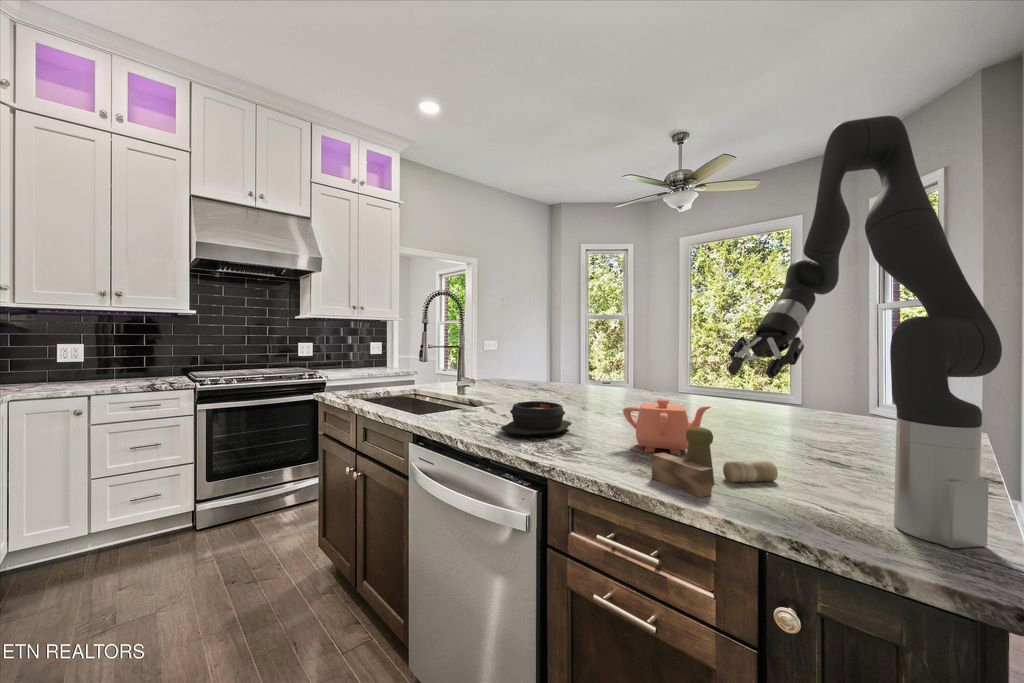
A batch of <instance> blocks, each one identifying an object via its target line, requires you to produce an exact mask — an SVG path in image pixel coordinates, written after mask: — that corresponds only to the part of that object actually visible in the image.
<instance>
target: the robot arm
mask: <svg viewBox="0 0 1024 683" xmlns="http://www.w3.org/2000/svg"><path fill="white" fill-rule="evenodd" d="M908 134H909V133H908V131H907V129H906V126H905V124H904V122H903V121H902V120H901V119H900V118H899V117H897V116H894V115H880V116H873V117H865V118H857V119H851V120H846V121H843V122H841V123H839V124H837V125H836V126H835V127H834V128H833V129H832V131H831V132H830V134H829V137H828V139H827V141H826V145H825V149H824V154H823V159H822V164H821V171H820V176H819V182H818V188H817V196H816V203H815V209H814V215H813V219H812V222H811V225H810V228H809V231H808V234H807V237H806V239H805V243H804V246H803V250H802V251H803V254H804V256H805V257H806V258H807V259H804V258H803V259H797V260H795V261H793V262H792V263H791V264H790V265H789V266H788V268H787V271H786V275H785V281H784V287H783V290H782V292H781V293H780V295H779V296H778V298H777V300H776V301H775V302H774V304H773V305H772V306H771V307H770V308H769V310H768V311H767V313H766V314H765V316H764V317H763V319H762V320H761V322H760V323H759V325H758V326H757V328H756V333H755V335H754V336H753V337H752V338H751V339H746V338H745V337H744V336H741V337H739V338H738V340H737V341H736V342H735V343H734V345H733V346H732V347H731V348H730V349H729V352H728V353H727V354H728V355H729V357H730V359H731V362H730V364H729V365H728V366H727V367H728V368H727V369H728V371H729V373H730V374H731V375H732V376H736V375H737V374H738V373H739V371H740V370H741V368H742V366H743V364H745V363H746V362H748V361H754V360H755V359H757V358H764V357H765V358H769V359H770V358H772V357H774V358H775V359H774V358H773V359H772V360H771V362H770V364H769V365H768V367H767V369H765V374H766V376H767V377H768V378H769V379H775V377H777V376H778V375H779V373H780V371H781V370H782V368H783V367H785V366H786V365H791V366H794V365H796V364H797V362H798V360H799V359H800V356H801V354H802V352H803V350H804V348H805V345H804V342H803V341H802V340H801V338H800V337H799V336H797V335H798V333H799V332H800V330H801V328H802V327H803V325H804V324H805V320H806V319H807V316H808V314H809V313H810V311H811V309H812V308H813V306H814V305H815V303H816V295H820V296H821V295H822V296H823V295H827V294H829V293H830V292H832V291H833V290H834V289H835V288H836V286H837V285H838V281H839V277H840V270H839V269H840V268H839V267H840V264H839V263H840V253H841V250H842V248H843V247H844V243H845V241H846V238H847V236H848V234H849V229H850V226H851V217H850V213H849V210H848V208H847V205H846V203H845V202H844V198H843V195H842V182H843V179H844V176H845V174H846V173H847V172H857V171H865V170H866V171H867V170H875V171H876V173H877V174H878V176H879V179H880V183H881V188H880V191H879V193H878V195H877V197H876V198H875V201H874V203H873V204H872V206H871V207H870V210H869V211H868V214H867V216H866V218H865V219H866V220H865V223H864V231H865V236H866V239H867V242H868V244H869V246H870V250H871V252H872V255H873V258H874V260H875V261H876V263H877V264H878V265H879V266H880V267H881V268H882V269H883V270H884V271H885V272H886V273H887V274H889V276H891V277H892V278H893V279H894V280H896V282H898V283H900V284H901V285H902V286H903V287H905V289H907V290H908V291H909V292H910V293H912V295H914V296H915V297H916V299H917V300H919V302H920V304H921V305H922V307H923V309H924V311H925V312H926V314H927V316H926V315H925V316H922V315H921V316H912V317H908V318H907V319H906V318H905V319H904V320H902V321H901V322H900V323H899V324H897V326H896V327H895V329H894V331H893V334H892V336H891V340H890V346H889V347H890V349H889V351H890V352H889V353H890V354H889V358H890V359H889V361H890V362H889V363H890V375H891V376H890V378H891V382H890V383H891V395H892V400H893V402H894V406H895V408H896V426H895V428H896V429H895V433H896V434H895V456H894V457H895V463H894V464H895V466H894V498H893V499H894V502H893V503H894V505H893V508H894V509H893V525H894V526H895V527H896V529H898V530H900V531H901V532H904V533H905V534H908V535H909V536H912V537H915V538H918V539H920V540H924V541H927V542H931V543H935V544H939V545H942V546H945V547H947V548H949V549H962V548H963V549H964V548H978V547H980V548H981V547H983V548H984V547H988V527H989V526H988V525H989V524H988V523H989V495H990V494H989V490H990V489H989V488H990V486H989V485H990V483H989V481H988V480H986V479H984V478H982V477H981V461H982V460H981V459H982V458H981V457H982V456H981V455H982V428H983V427H982V426H983V413H982V409H981V407H979V406H978V405H976V404H974V403H971V402H968V401H965V400H963V399H961V398H959V397H958V396H956V395H954V394H953V393H952V392H951V390H950V387H949V380H948V379H949V378H978V377H983V376H986V375H988V374H990V373H992V372H993V371H994V370H996V368H997V367H998V365H999V364H1000V362H1001V358H1002V353H1003V346H1002V341H1001V337H1000V335H999V332H998V329H997V328H996V326H995V325H994V322H993V321H992V319H991V317H990V316H989V314H988V313H987V311H986V310H985V308H984V307H983V305H982V303H981V301H979V299H978V297H977V296H976V293H975V292H974V291H973V289H972V287H971V286H970V284H969V283H968V281H967V279H966V277H965V275H964V273H963V270H962V268H961V267H960V265H959V263H958V261H957V258H956V256H955V255H954V252H953V251H952V249H951V246H950V244H949V242H948V239H947V236H946V233H945V231H944V228H943V226H942V223H941V221H940V219H939V217H938V215H937V214H938V213H937V212H936V210H935V209H934V207H933V205H932V203H931V201H930V199H929V196H928V194H927V191H926V190H925V189H926V188H925V187H924V185H923V184H924V183H923V181H922V179H921V176H920V174H919V171H918V169H917V164H916V162H915V161H916V159H915V156H914V153H913V149H912V146H911V142H910V137H909V135H908ZM808 259H809V260H808ZM750 350H751V351H752V354H751V353H750ZM786 350H787V351H786ZM784 351H786V353H785V355H783V354H782V353H783V352H784ZM742 356H743V357H742Z"/></svg>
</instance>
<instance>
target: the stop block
mask: <svg viewBox="0 0 1024 683" xmlns="http://www.w3.org/2000/svg"><path fill="white" fill-rule="evenodd" d="M651 454H652V456H651V457H652V458H651V479H653V478H654V479H653V480H655V479H656V481H658V482H660V481H661V483H663V484H665V483H666V484H665V485H668V484H669V485H668V486H670V485H672V486H671V487H673V486H674V487H673V488H675V487H677V488H676V489H678V488H679V489H678V490H680V489H682V490H681V491H683V490H684V491H683V492H685V491H687V492H686V493H688V492H689V493H688V494H690V493H691V494H690V495H693V496H695V495H696V496H695V497H698V498H705V497H704V496H706V497H709V495H710V496H712V489H713V488H712V486H713V485H712V473H713V474H714V467H713V468H710V467H707V466H704V465H701V464H698V463H695V462H692V461H688V460H686V458H682V457H679V456H677V455H673V454H671V453H670V454H669V453H666V452H659V453H651Z"/></svg>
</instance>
